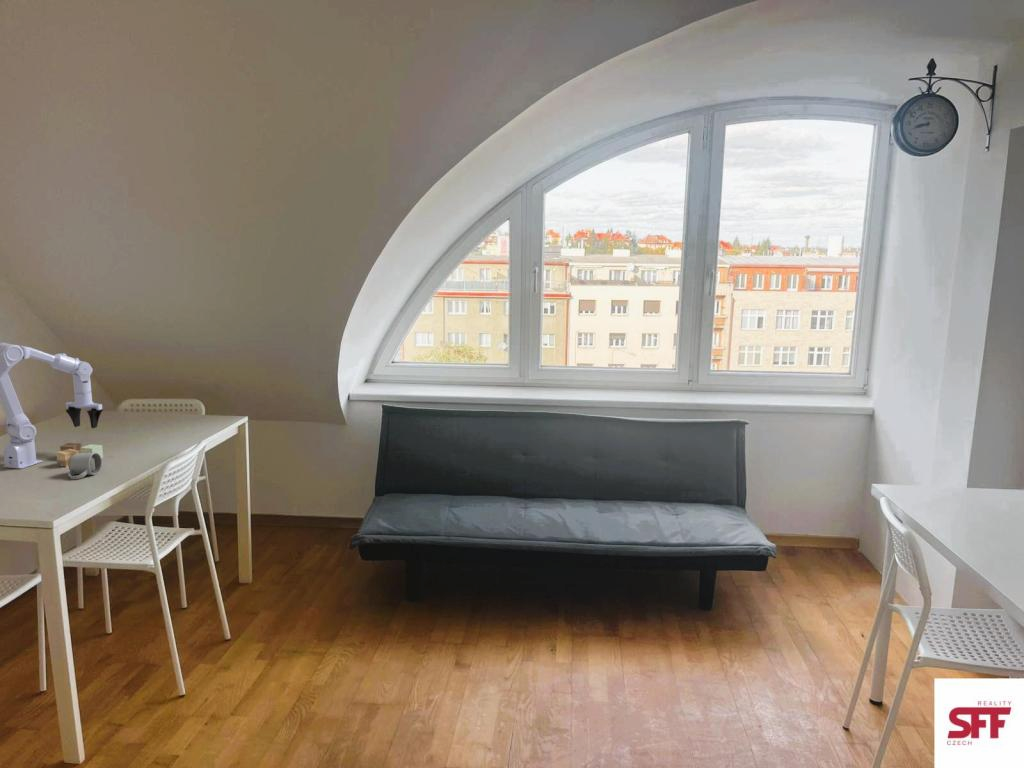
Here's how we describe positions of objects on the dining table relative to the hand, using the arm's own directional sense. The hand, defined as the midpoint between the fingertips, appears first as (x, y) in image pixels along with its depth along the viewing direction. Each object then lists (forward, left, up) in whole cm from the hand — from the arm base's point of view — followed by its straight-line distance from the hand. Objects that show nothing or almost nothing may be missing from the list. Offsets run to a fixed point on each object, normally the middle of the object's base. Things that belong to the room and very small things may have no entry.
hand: (85, 427), depth 286 cm
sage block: (-8, -10, -10) cm, 16 cm away
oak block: (-16, -7, -10) cm, 20 cm away
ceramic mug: (-26, -22, -10) cm, 35 cm away
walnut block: (-8, -1, -10) cm, 13 cm away
